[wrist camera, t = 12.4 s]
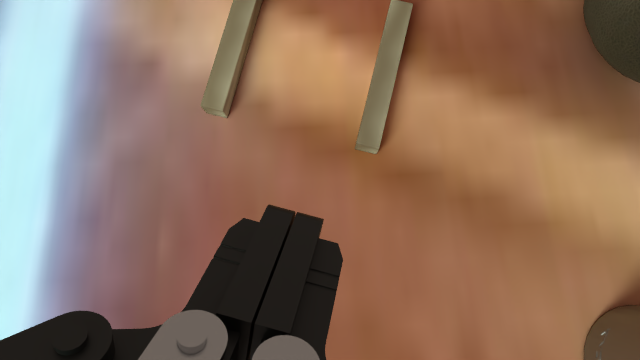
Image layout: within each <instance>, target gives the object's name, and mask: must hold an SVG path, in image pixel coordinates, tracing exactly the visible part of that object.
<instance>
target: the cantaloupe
mask: <svg viewBox="0 0 640 360" xmlns="http://www.w3.org/2000/svg"><path fill="white" fill-rule="evenodd" d="M583 9H584V18H585V23H586V26H587V29H588V31H589V34H590V36H591V38H592V41H593V43H594V45H595V47H596V48H597V50H598V51H599V52H600V54H601V55H602V56H603V57H604V59H605V60H606V61H607V62H608V63H609V64H610V65H611V66H612V67H613V68H614V69H616V70H617V71H619V72H620V73H621V74H623V75H625V76H626V77H629V78H631V79H633V80H635V81H637V82H639V83H640V0H584V7H583Z"/></svg>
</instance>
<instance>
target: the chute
mask: <svg viewBox="0 0 640 360" xmlns="http://www.w3.org/2000/svg"><path fill="white" fill-rule="evenodd" d="M262 1H263V0H233V3H232V6H231V10H230V13H229V16H228V19H227V22H226V26H225V29H224V32H223V35H222V38H221V42H220V45H219V48H218V51H217V54H216V58H215V61H214V64H213V67H212V70H211V74H210V77H209V80H208V83H207V86H206V90H205V93H204V96H203V99H202V102H201V107H202V108H203V109H204V111H205V112H206V113H208V114H212V115H217V116H221V117H225V118H228V114H229V111H230V108H231V104H232V101H233V98H234V94H235V91H236V88H237V84H238V81H239V78H240V74H241V71H242V68H243V64H244V61H245V58H246V54H247V51H248V48H249V44H250V41H251V38H252V34H253V31H254V28H255V24H256V21H257V18H258V14H259V11H260V7H261V4H262ZM412 6H413V4H412V3H407V2H403V1H398V0H391V3H390V7H389V10H388V15H387V19H386V23H385V27H384V31H383V35H382V39H381V43H380V47H379V51H378V55H377V60H376V64H375V68H374V72H373V76H372V80H371V84H370V88H369V92H368V96H367V101H366V105H365V109H364V113H363V117H362V121H361V125H360V129H359V133H358V137H357V141H356V146H355V149H357V150H361V151H365V152H369V153H373V154H377V152H378V150H379V147H380V143H381V139H382V134H383V130H384V126H385V121H386V117H387V113H388V109H389V104H390V100H391V96H392V92H393V87H394V83H395V79H396V74H397V70H398V66H399V62H400V57H401V53H402V49H403V45H404V40H405V36H406V32H407V28H408V23H409V19H410V15H411V10H412Z"/></svg>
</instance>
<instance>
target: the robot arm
mask: <svg viewBox="0 0 640 360" xmlns="http://www.w3.org/2000/svg"><path fill="white" fill-rule="evenodd" d="M323 220H324V219H321V218H318V217H314V216H310V215H307V214H303V213H299V212H297V214H296V216H295V211H291V210H288V209H284V208H280V207H276V206H273V205H268V206H267V208H266V210H265V212H264V214H263V216H262V218H261V220H260V222H256V221H253V220H249V219H245V218H243V219H242V220H241V221H239V222H238V223H236V224H235V225H234V226H232V227H231V228H230V229H229V230H228V232H227V233H226V235H225V237H224V239H223V241H222V242H221V245H220V247H219V248H218V250H217V251H216V253H215V255H214V258H213V259H212V260H211V262H210V264H209V266H208V268H207V269H206V271H205V273H204V275H203V276H202V278H201V280H200V282H199V284H198V285H197V287H196V289H195V291H194V293H193V294H192V296H191V298H190V300H189V302H188V303H187V305H186V307H185V308H184V309H183V311H182V312H180V313H178V314H176V315H174V316H172V317H171V318H169V319H168V320H167V321H166V322H164V324H162V325H159V326H156V327H152V328H145V329H112V328H111V326H110V323H109V322H108V321H107V320H106V319H105V318H104V317H103V316H101V315H100V314H97V313H94V312H90V311H74V312H69V313H65V314H63V315H60V316H57V317H55V318H53V319H50V320H48V321H45V322H43V323H41V324H38V325H36V326H34V327H31V328H29V329H26V330H24V331H22V332H19V333H17V334H15V335H12V336H10V337H7V338H5V339H3V340H0V360H326V357H325V344H326V339H327V334H328V329H329V325H330V320H331V315H332V310H333V305H334V301H335V296H336V291H337V286H338V281H339V276H340V272H341V267H342V262H343V258H342V255H341V252H340V248H339V245H338V243H334V242H331V241H327V240H323V239H319V236H320V232H321V228H322V224H323ZM584 360H640V306H637V305H628V306H622V307H618V308H615V309H613V310H611V311H608V312H607V313H606V314H604V315H603V316H601V317H600V318H599V319H598V320H597V321H596V323H595V324H594V325H593V326H592V328H591V330H590V332H589V334H588V336H587V339H586V343H585V347H584Z"/></svg>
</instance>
